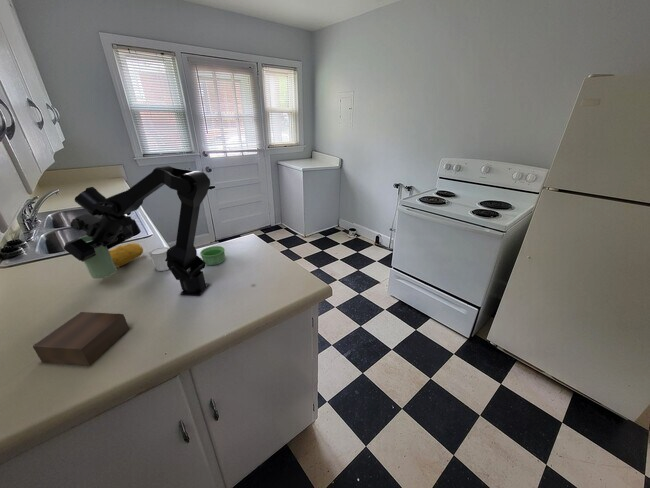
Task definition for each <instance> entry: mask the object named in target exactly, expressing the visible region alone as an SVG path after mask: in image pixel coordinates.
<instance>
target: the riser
mask: <svg viewBox="0 0 650 488" xmlns="http://www.w3.org/2000/svg"><path fill="white" fill-rule="evenodd" d="M127 322H128V321H127V319H126V318H125V315H124V313H113V312H112V313H109V312H93V311H92V312H89V311H80V312H79V313H77V314H76V315H75V316H73V317H72V318H70V319H69V320H67V321H66V322H64V323H63V324H61V325H60V326H59V327H57V328H56V329H54V330H53V331H52V332H50V333H49V334H48V335H46V336H44V337H43V338H41V340H39V341H37V342H36V343H34V344H33V345H32V348H33V350H34V351H35V353H36V356H38V358H39V360H40V361H41V363H43V364H45V363H47V364H58V365H75V366H91V365H92V364H94V363H95V361H97V360H98V359H100V357H101V356H102V355H103V354H104V353H105V352H107V351H108V350H109V348H111V347H112V346H113V345H114V344H115V343H116V342H117V341H118V340H119V339H121V337H123V335H125V333H127V332H128V331H129V330H130V327H129V325H128V323H127Z"/></svg>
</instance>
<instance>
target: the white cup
mask: <svg viewBox="0 0 650 488" xmlns="http://www.w3.org/2000/svg"><path fill="white" fill-rule="evenodd" d="M169 248H170V247H168V246H163V247H157V248H154V249H152V250H150V251H149V256H150V258H151V260H152V262H153V265H154V267H155V270H156V271H158V272H164V271H167V270H170V269H169V268H168V266H167V261H165V260H166V258H167V253H166V252H167V250H168V249H169Z"/></svg>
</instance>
